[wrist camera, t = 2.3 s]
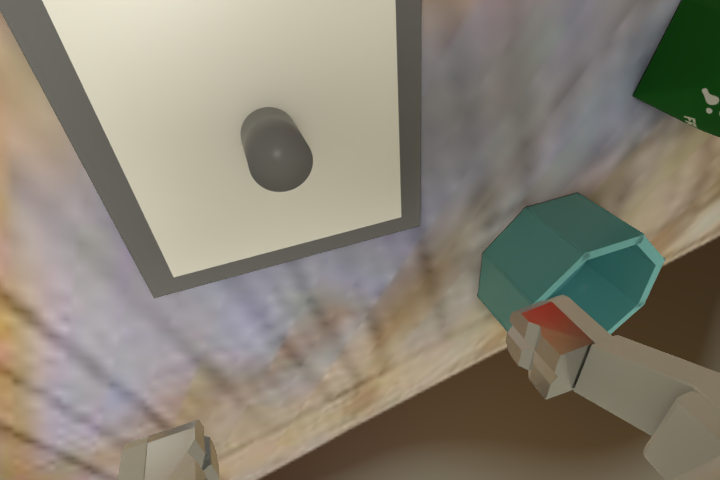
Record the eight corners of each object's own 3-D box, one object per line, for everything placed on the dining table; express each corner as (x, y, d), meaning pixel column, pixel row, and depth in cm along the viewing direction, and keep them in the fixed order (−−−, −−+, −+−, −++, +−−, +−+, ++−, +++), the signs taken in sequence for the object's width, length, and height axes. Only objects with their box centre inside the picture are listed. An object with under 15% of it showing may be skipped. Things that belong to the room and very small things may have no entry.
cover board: (386, -50, 21) (430, -50, 17) (396, 210, 31) (425, 247, 27) (44, -11, 18) (4, 0, 14) (174, 268, 27) (171, 320, 24)
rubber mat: (417, -103, 21) (422, -104, 20) (417, 222, 33) (420, 225, 32) (-34, -63, 17) (-39, -63, 16) (154, 293, 29) (154, 298, 28)
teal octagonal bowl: (612, 182, 38) (683, 221, 32) (578, 287, 46) (631, 332, 40) (486, 217, 35) (541, 266, 30) (473, 322, 43) (515, 376, 37)
